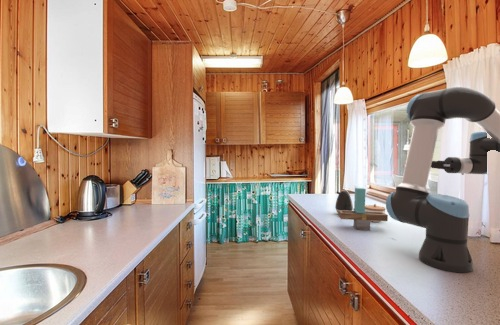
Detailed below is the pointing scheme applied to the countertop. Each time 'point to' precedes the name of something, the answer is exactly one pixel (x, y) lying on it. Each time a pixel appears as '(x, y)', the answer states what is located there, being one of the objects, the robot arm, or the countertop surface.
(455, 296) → the countertop surface
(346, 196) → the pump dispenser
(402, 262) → the countertop surface
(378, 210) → the lidded jar
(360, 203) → the block
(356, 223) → the beam
